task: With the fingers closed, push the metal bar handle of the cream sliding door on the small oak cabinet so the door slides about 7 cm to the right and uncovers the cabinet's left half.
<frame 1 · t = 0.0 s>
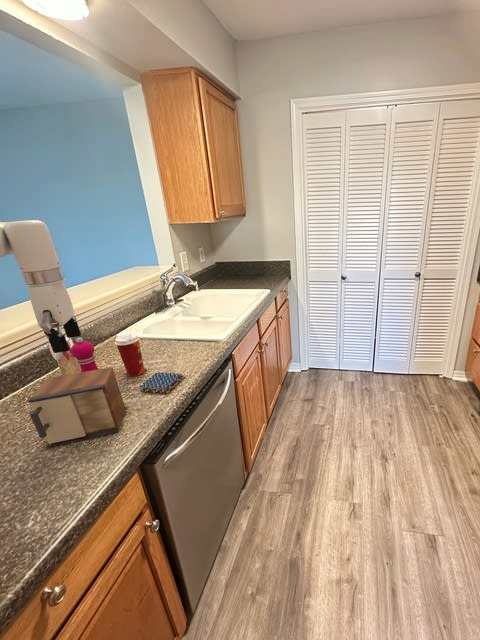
hand: (68, 343, 82), 24 cm above the countertop, tool pointing down, fingers open, 9 cm apart
cabinet: (91, 424, 90), on the countertop
woven mat: (163, 385, 108), on the countertop
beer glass: (74, 379, 115), on the countertop
pepper mill: (98, 394, 105), on the countertop
sliding door: (56, 424, 79), point 7 cm above the countertop, slide at 0.0 cm
paper cup: (136, 372, 117), on the countertop
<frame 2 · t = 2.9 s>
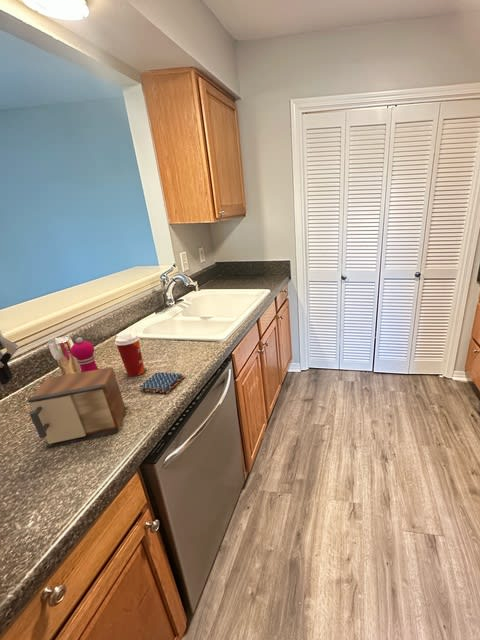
nothing on the countertop moved.
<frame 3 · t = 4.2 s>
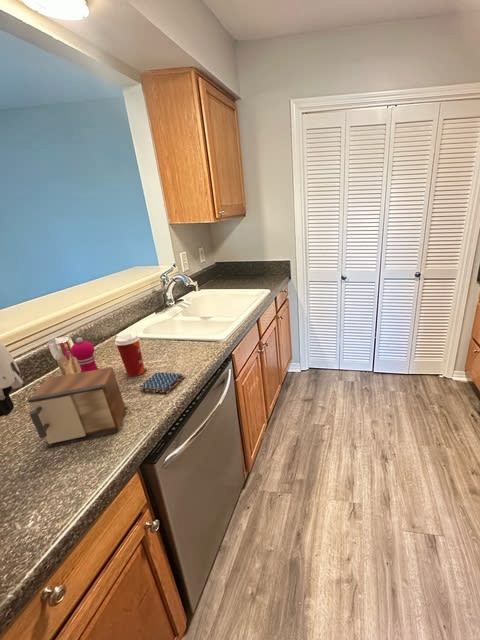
hand: (6, 412, 73), 14 cm above the countertop, tool pointing down, fingers closed
nothing on the countertop moved.
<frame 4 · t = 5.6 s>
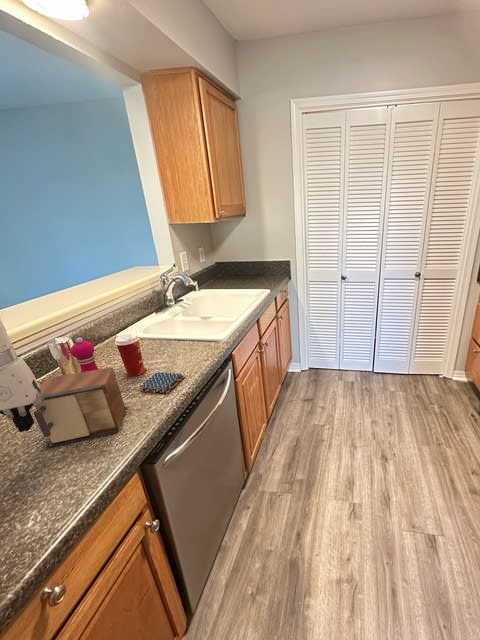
hand: (27, 427, 76), 9 cm above the countertop, tool pointing down, fingers closed
sliding door: (60, 423, 80), point 7 cm above the countertop, slide at 0.9 cm
everything else where it was.
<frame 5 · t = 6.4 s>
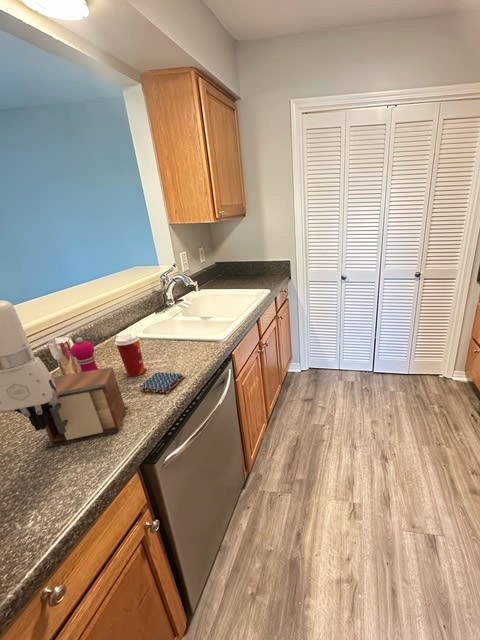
hand: (42, 426, 77), 8 cm above the countertop, tool pointing down, fingers closed
sliding door: (75, 420, 81), point 7 cm above the countertop, slide at 4.1 cm, touching gripper
everything else where it was.
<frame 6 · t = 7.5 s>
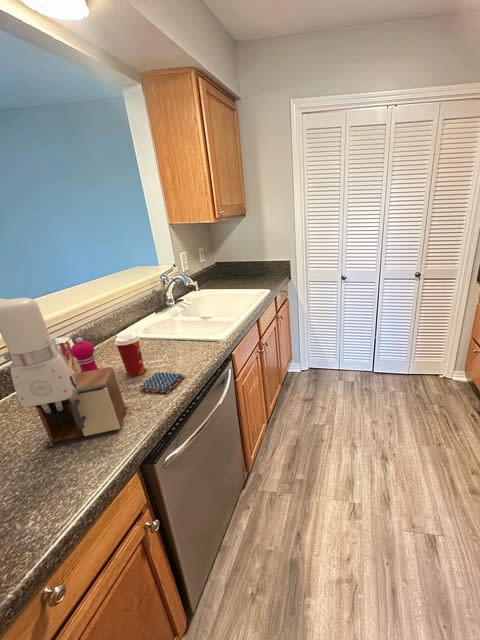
hand: (62, 422, 78), 8 cm above the countertop, tool pointing down, fingers closed
sliding door: (93, 416, 82), point 7 cm above the countertop, slide at 8.1 cm, touching gripper
everything else where it was.
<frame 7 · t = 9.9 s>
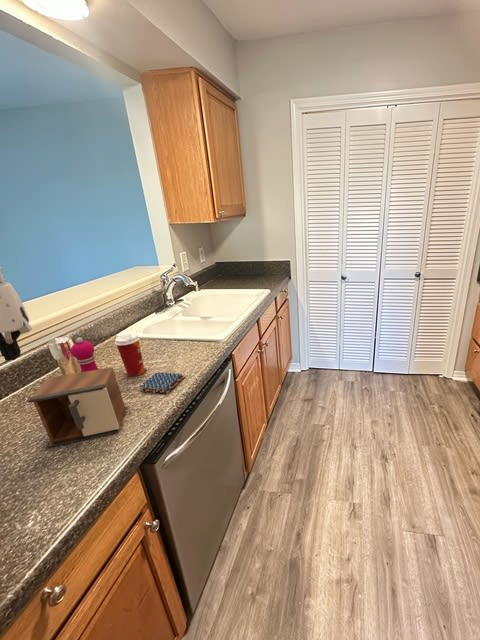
hand: (13, 357, 75), 25 cm above the countertop, tool pointing down, fingers closed
sliding door: (93, 416, 82), point 7 cm above the countertop, slide at 8.0 cm
everything else where it was.
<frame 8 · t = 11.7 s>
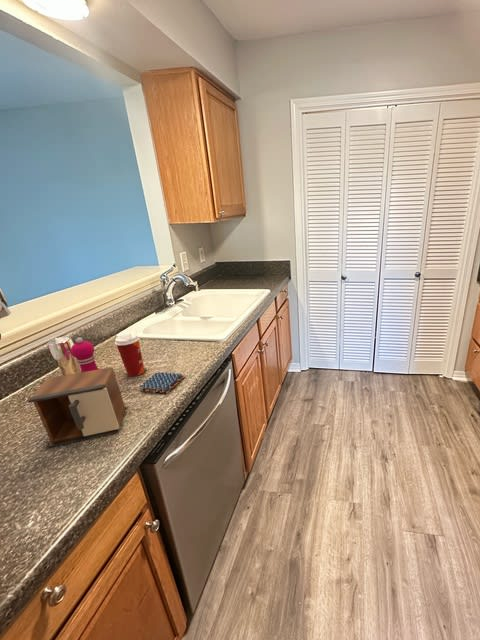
nothing on the countertop moved.
at the end: sliding door slide at 8.0 cm; pepper mill moved 0.2 cm from its start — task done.
